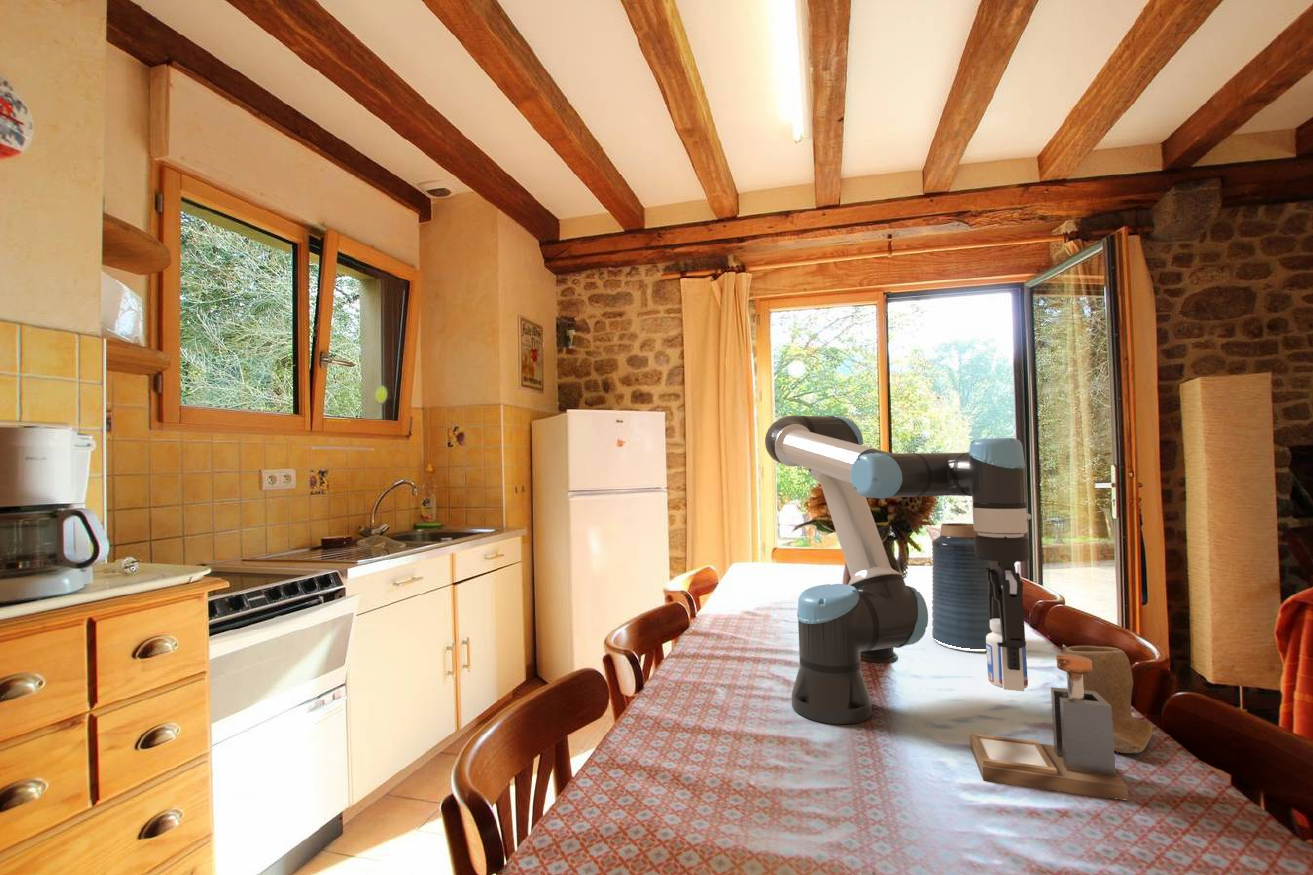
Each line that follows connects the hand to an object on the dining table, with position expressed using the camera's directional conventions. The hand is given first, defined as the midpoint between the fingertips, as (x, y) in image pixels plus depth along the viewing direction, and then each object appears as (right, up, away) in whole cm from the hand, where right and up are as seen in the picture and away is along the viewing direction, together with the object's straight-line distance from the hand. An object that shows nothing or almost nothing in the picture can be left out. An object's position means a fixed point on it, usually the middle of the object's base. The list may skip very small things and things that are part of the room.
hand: (1008, 682), depth 91 cm
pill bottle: (0, -1, 0) cm, 1 cm away
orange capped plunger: (+9, -7, -3) cm, 11 cm away
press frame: (+9, -11, -4) cm, 15 cm away
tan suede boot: (+23, -14, +9) cm, 28 cm away
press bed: (+4, -13, -2) cm, 14 cm away
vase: (+27, -17, +63) cm, 70 cm away
